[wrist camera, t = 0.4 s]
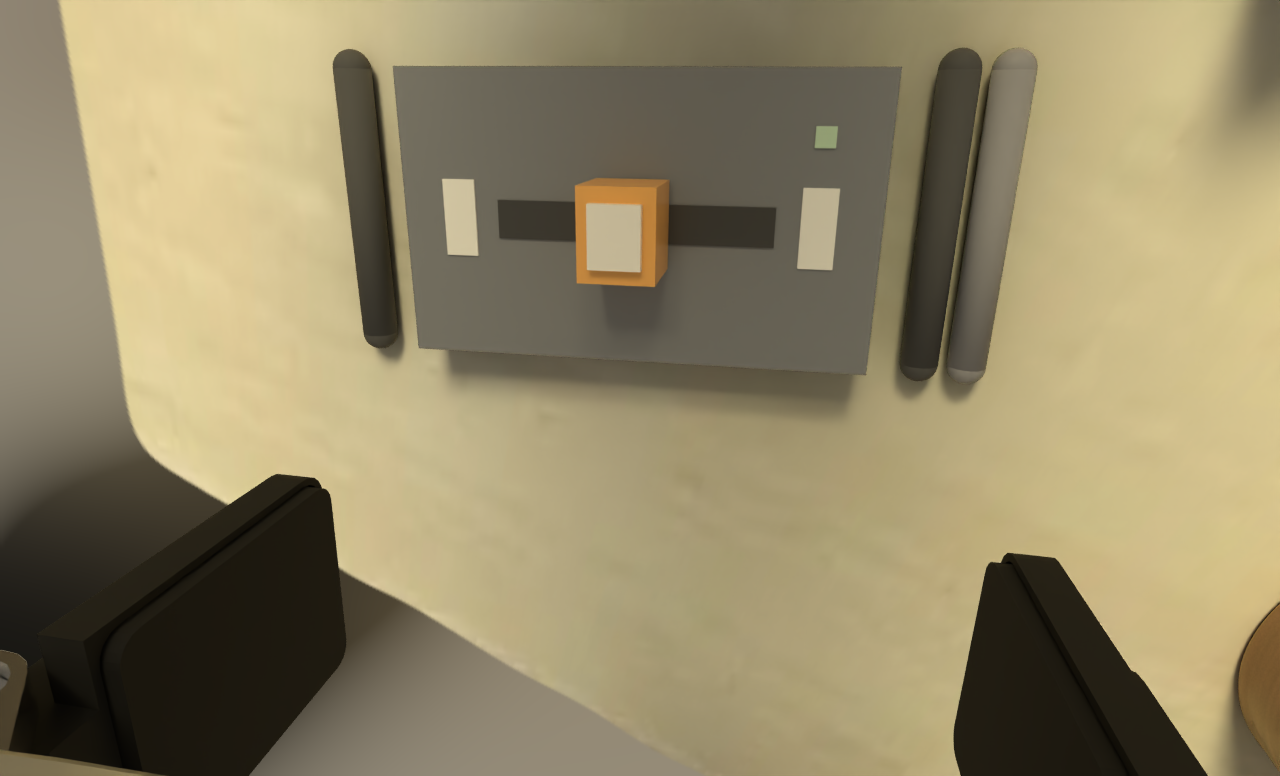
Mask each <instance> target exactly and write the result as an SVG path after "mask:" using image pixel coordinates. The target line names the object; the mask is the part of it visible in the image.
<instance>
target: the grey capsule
mask: <svg viewBox="0 0 1280 776" xmlns="http://www.w3.org/2000/svg"><path fill="white" fill-rule="evenodd" d="M981 73H982V61H981V59H980V57H979V55H978V54H977V53H976V52H975V51H973V50H971V49H968V48H958V49H955V50H953V51H951V52H949V53H948V54H947V55H946V56H945V57H944V58H943V59H942V61H941V62H940V65H939V68H938V74H937V82H936V89H935V97H934V104H933V112H932V120H931V127H930V135H929V142H928V150H927V158H926V165H925V173H924V180H923V188H922V196H921V203H920V211H919V218H918V226H917V234H916V241H915V249H914V256H913V264H912V272H911V279H910V287H909V294H908V302H907V310H906V317H905V325H904V332H903V340H902V348H901V355H900V369H901V371H902V373H903V374H904V375H905V376H906V377H907V378H909V379H911V380H914V381H923V380H926V379H928V378H930V377H931V376H933V374H934V373H935V372H936V370H937V366H938V361H939V354H940V347H941V341H942V334H943V327H944V321H945V314H946V307H947V301H948V294H949V287H950V280H951V274H952V267H953V260H954V254H955V247H956V240H957V234H958V227H959V220H960V214H961V207H962V200H963V194H964V187H965V180H966V174H967V167H968V160H969V154H970V147H971V140H972V133H973V127H974V120H975V113H976V107H977V100H978V93H979V87H980V80H981Z"/></svg>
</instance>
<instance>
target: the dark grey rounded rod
mask: <svg viewBox="0 0 1280 776" xmlns="http://www.w3.org/2000/svg"><path fill="white" fill-rule="evenodd" d="M333 74H334V83H335V91H336V100H337V108H338V117H339V125H340V134H341V143H342V151H343V160H344V168H345V177H346V185H347V194H348V203H349V211H350V220H351V228H352V237H353V246H354V254H355V263H356V271H357V280H358V288H359V297H360V306H361V314H362V323H363V331H364V337H365V339H366V340H367V342H368V343H369V344H370V345H372V346H374V347H376V348H386V347H389V346H391V345H392V344H393V343H394V342H395V340H396V338H397V335H398V328H397V318H396V308H395V298H394V289H393V279H392V269H391V259H390V249H389V239H388V229H387V219H386V209H385V199H384V189H383V179H382V170H381V160H380V150H379V140H378V130H377V120H376V110H375V100H374V90H373V80H372V70H371V65H370V63H369V61H368V59H367V58H366V57H365V56H364V55H363V54H362V53H361V52H359V51H356V50H353V49H346V50H343V51H341V52H339V53H338V54H337V55H336V57H335V58H334V61H333Z"/></svg>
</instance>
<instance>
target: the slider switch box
mask: <svg viewBox="0 0 1280 776" xmlns="http://www.w3.org/2000/svg"><path fill="white" fill-rule="evenodd" d="M901 70H902V67H629V66H393V73H394V84H395V95H396V106H397V117H398V127H399V138H400V149H401V160H402V171H403V182H404V193H405V204H406V215H407V225H408V236H409V247H410V258H411V269H412V280H413V291H414V302H415V312H416V323H417V334H418V345H419V348H425V349H441V350H458V351H474V352H491V353H507V354H524V355H540V356H556V357H573V358H589V359H606V360H622V361H639V362H655V363H672V364H688V365H705V366H721V367H738V368H754V369H770V370H787V371H803V372H820V373H836V374H853V375H866V370H867V362H868V353H869V345H870V336H871V328H872V319H873V310H874V302H875V293H876V285H877V276H878V268H879V259H880V250H881V242H882V233H883V225H884V216H885V208H886V199H887V190H888V182H889V173H890V165H891V156H892V148H893V139H894V130H895V122H896V113H897V105H898V96H899V88H900V79H901ZM595 178H621V179H663V180H670V182H669V226H668V269H667V270H666V272H665V273H664V275H663V276H662V277H661V279H660V280H659V282H658V283H657V285H656V286H655V287H647V286H625V285H603V284H581V283H577V273H576V218H575V185H578V184H581V183H583V182H586V181H589V180H592V179H595Z"/></svg>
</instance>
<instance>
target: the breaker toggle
mask: <svg viewBox="0 0 1280 776" xmlns="http://www.w3.org/2000/svg"><path fill="white" fill-rule="evenodd" d="M669 182H670V180H663V179H621V178H595V179H592V180H589V181H586V182H583V183H581V184H578V185H575V218H576V273H577V283H581V284H603V285H625V286H647V287H655V286H656V285H657V283H658V282H659V280H660V279H661V277H662V276H663V275H664V273H665V272H666V270H667V269H668V226H669Z"/></svg>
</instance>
